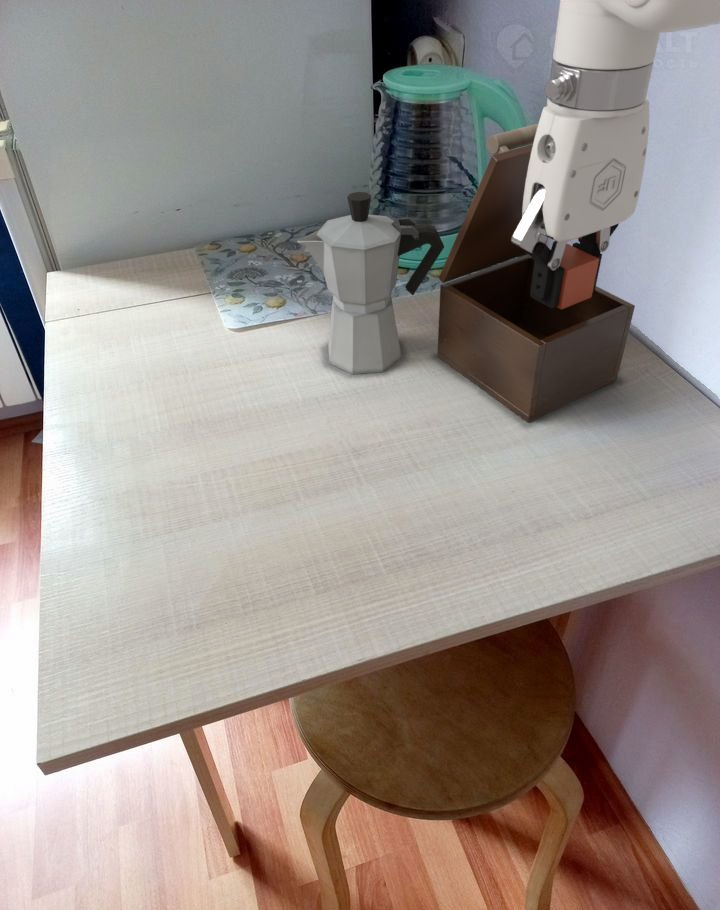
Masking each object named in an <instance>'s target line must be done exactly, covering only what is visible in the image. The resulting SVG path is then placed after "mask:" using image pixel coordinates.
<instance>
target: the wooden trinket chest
mask: <svg viewBox="0 0 720 910" xmlns="http://www.w3.org/2000/svg"><path fill="white" fill-rule="evenodd" d="M534 262H535V261H534V260H532V259H530V255H529V254H528V253H527V254H524V255H521V256H519V257H516V258H513V259H510V260H507V261H504V262H502V263H499V264H496V265H493V266H490V267H487V268H485V269H482V270H479V271H476V272H473V273H470V274H468V275H465V276H462V277H459V278H456V279H453V280H451V281H448V282H445V283H441V284H440V288H439V309H438V328H437V329H438V331H437V355H436V356H437V358H439V359H440V360H441V361H443V362H444V363H446V364H447V365H448V366H450V367H451V368H452V369H454V370H455V371H457V372H458V373H459V374H461V375H462V376H463V377H465V378H466V379H467V380H468V381H470V382H472V384H474V385H476V386H477V387H479V388H480V389H481V390H483V391H484V392H485V393H487V394H488V395H489V396H491V397H492V398H493V399H494V400H496V401H497V402H499V403H500V404H502V405H503V406H504V407H506V408H508V410H510V411H511V412H513V413H514V414H516V415H517V416H518V417H519V418H521V419H522V420H524V421H525V422H526V423H530V422H532V421H534V420H535V419H538V418H540V417H543V416H545V415H546V414H549V413H550V412H553V411H555V410H557V409H559V408H561V407H563V406H565V405H567V404H569V403H571V402H574V401H576V400H578V399H580V398H582V397H584V396H586V395H588V394H591V393H592V392H595V391H597V390H599V389H602V388H603V387H605V386H607V385H609V384H611V383H613V382H615V381H617V380H618V377H619V372H620V368H621V364H622V360H623V356H624V352H625V348H626V345H627V340H628V336H629V331H630V327H631V324H632V320H633V316H634V312H635V307H636V306H635V304H632V303H631V302H629V301H627V300H626V299H625V300H624V299H623V298H621V297H619V296H617V295H615V294H613V293H610V292H608V291H607V290H605V289H603V288H601V287H599V286H597V285H596V288H595V291H594V292H592V297H591V298H589V299H586V300H584V301H581V302H579V303H576V304H574V305H572V306H569V307H567V308H564V309H559V308H557V307H555V308H552V309H551V308H549V307H548V306H546V305H544V304H542V303H541V302H539V301H537V300H535V299H533V298H532V297H531V295H530V290H531V283H532V276H533V269H534Z"/></svg>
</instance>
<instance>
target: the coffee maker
mask: <svg viewBox="0 0 720 910" xmlns="http://www.w3.org/2000/svg"><path fill="white" fill-rule="evenodd" d="M346 198H347V203H348V208H349V212H350V214H349V215H344V216H340V217H336V218H331V219H328V220H326V222H325V223H324V224H323V225H322V226H321V228H320V229H318V230H317V231H315V232H312V233H310V234H308V235H306V236H304V237H301V238H299V239H297V242H296V243H298V244H300V245H304V247H305V249H306V250H307V251H308V252H309V254H310V256H311V257H312V258H313V260H314V261H315V262H316V264H317V265H318V267H319V269H320V270H321V271H322V273H323V276H324V279H325V280H324V281H325V284H326V287H327V290H328V292H330V293H331V295H332V296H333V297H332V301H331V312H330V321H329V322H330V323H329V331H328V343H327V352H328V353H327V354H328V362H329V365H331V366H332V367H336V368H337V369H340V370H342V371H344V372H347V373H349V374H351V375H360V374H361V375H362V374H371V373H383V372H385V371H386V370H388V369H389V368H390V367H392V366H393V365H395V364H396V363H398V361H400V360H402V352H401V346H400V345H401V344H400V340H399V334H398V328H397V323H396V315H395V310H394V303H393V299H392V292H393V290H394V288H395V287H396V285H397V279H398V271H399V265H400V259H401V258H400V256H403V255H405V254H406V253H409V252H412V251H414V250H416V249H418V248H420V247H422V246H424V245H430V247H429V249H428V250H427V252H426V253H425V254H424V256H423V258H422V259H421V261H420V262H419V265H417V266H416V269H415V270H414V272H413V273H412V275H411V276H410V278H409V279H408V281H407V283H406V284H405V289H406V291H407V292H408V293H410V294H411V295H412V296H414V295H415V293H416V292H417V290H418V289H419V287H420V285H421V284H422V282H423V281H424V280H425V278H426V276H427V275H428V274H429V272H430V270H431V269H432V267H433V265H434V264H435V262H436V261H437V259H438V258H439V257H440V254H441V253H442V252H443V250H444V249H445V245H444V244H445V243H444V242H443V241H442V238H441V237H440V234H439V232H438V230H437V228H436V227H435V225H432V224H428V223H422V224H416V222H415V221H414V220H412V219H411V218H410V217H397V218H396V219H395V220H393V218H390V217H389V216H387V215H377V214H370V206H371V200H372V195H371V194H370V193H369V192H366V191H365V192H364V191H355V192H351V193H349V194H348V195H347V197H346Z"/></svg>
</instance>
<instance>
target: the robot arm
mask: <svg viewBox="0 0 720 910" xmlns="http://www.w3.org/2000/svg"><path fill="white" fill-rule="evenodd" d="M719 24H720V0H559V8H558V16H557V23H556V29H555V30H556V31H555V36H554V37H555V38H554V46H553V55H552V61H551V68H550V76H549V80H548V81H547V82H546V83H545V85H544V94H545V97H546V98H547V99H546V106H544V107H543V108H542V111H541V115H540V118H539V119H538V123H539V124H538V123H537V124H538V127H537V131H536V135H535V139H534V143H533V147H532V151H531V156H530V161H529V165H528V171H527V177H526V182H525V189H524V196H523V207H522V219H521V221H520V223H519V224H518V226H517V228H516V230H515V232H514V234H513V236H512V238H511V242H512V243H513V244H515V245H517V246H518V247H520V248H522V249H524V250H525V251H526V252H527V254H529V255H530V259H532V260H534V261H535V262H534V269H533V276H532V283H531V290H530V295H531V297H532V298H533V299H535V300H537V301H539V302H541V303H542V304H544V305H546V306H548V307H549V308H551V309H552V308H555V307H557V306H558V303H559V298H560V292H561V286H562V280H563V274H564V268H562V267H560V264H561V260H562V257H563V254H564V251H565V247H566V244H568V242H571V241H573V240H577V241H578V242H574V243H572V246H573V247H575V248H578V249H580V250H582V251H584V252H586V253H588V254H590V255H592V256H595V257H597V258H599V262H598V267H597V272H596V277H595V282H594V287H593V292H594V291H595V288H596V286H597V282H598V277H599V273H600V267H601V263H602V257H603V254H602V253H605V252H606V251H607V250H608V248H609V247H610V239H611V236H612V235H613V234H614V233H615V231H616V230H617V229H618V227H619V225H620V223H621V224H622V223H623V222H625V221H626V220H628V219H629V218H630V217H632V216H633V214H634V213H635V211H636V208H637V205H638V201H639V196H640V192H641V186H642V182H643V175H644V170H645V163H646V157H647V149H648V143H649V141H648V140H649V130H650V101H649V99H647V95H648V89H649V85H650V81H651V76H652V71H653V67H654V61H655V57H656V53H657V48H658V44H659V39H660V34H662V33H674V32H675V33H676V32H681V31H688V30H693V29H700V28H706V27H709V26H713V25H719ZM548 239H551V240H553V242H552V245H551V248H549V247H548V245H547V243H548Z"/></svg>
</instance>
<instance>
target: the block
mask: <svg viewBox="0 0 720 910" xmlns="http://www.w3.org/2000/svg"><path fill="white" fill-rule="evenodd" d="M598 262H599V258H597V257H595V256H592V255H590V254H588V253H586V252H584V251H582V250H580V249H578V248H575V247H573V245H571V244H569V243H567V244H566V247H565V251H564V254H563V257H562V260H561V264H560V267H562V268H564V274H563V280H562V286H561V292H560V298H559V303H558V306H557V308H559V309H564V308H567V307H569V306H572V305H574V304H576V303H579V302H581V301H584V300H586V299H589V298H591V297H592V292H593V287H594V282H595V277H596V272H597V267H598Z"/></svg>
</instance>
